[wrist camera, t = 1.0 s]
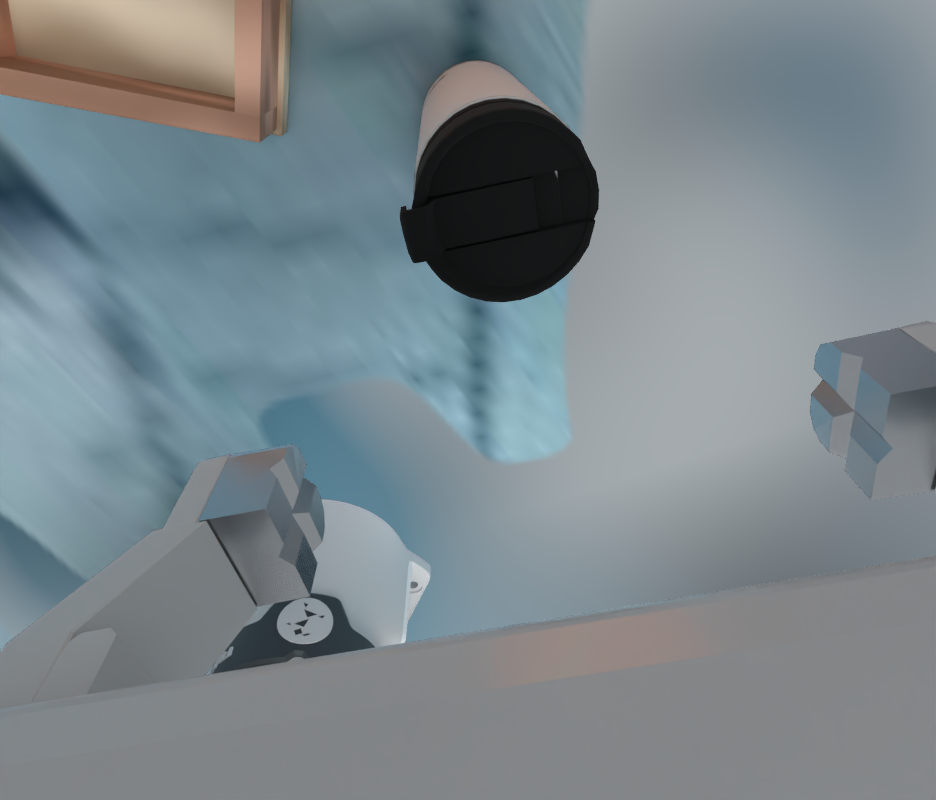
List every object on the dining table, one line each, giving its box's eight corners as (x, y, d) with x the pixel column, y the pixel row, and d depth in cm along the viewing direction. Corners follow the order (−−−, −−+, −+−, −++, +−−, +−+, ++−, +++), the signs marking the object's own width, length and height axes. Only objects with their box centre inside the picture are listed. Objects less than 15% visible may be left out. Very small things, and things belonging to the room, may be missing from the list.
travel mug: (404, 73, 35) (376, 136, 18) (521, 48, 35) (602, 89, 18) (428, 186, 39) (423, 327, 22) (535, 165, 38) (615, 291, 21)
